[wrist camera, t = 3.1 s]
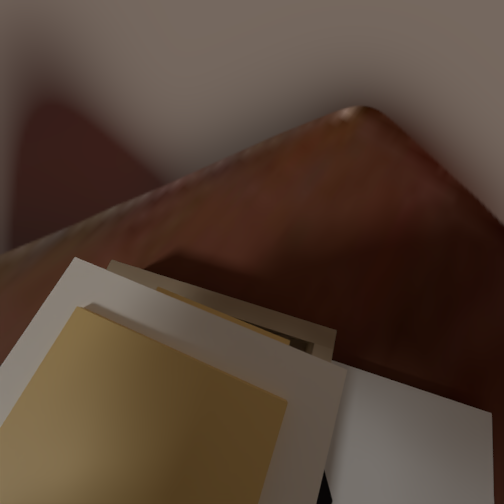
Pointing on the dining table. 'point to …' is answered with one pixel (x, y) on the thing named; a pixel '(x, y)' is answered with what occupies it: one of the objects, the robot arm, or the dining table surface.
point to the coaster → (407, 446)
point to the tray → (241, 311)
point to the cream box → (158, 403)
